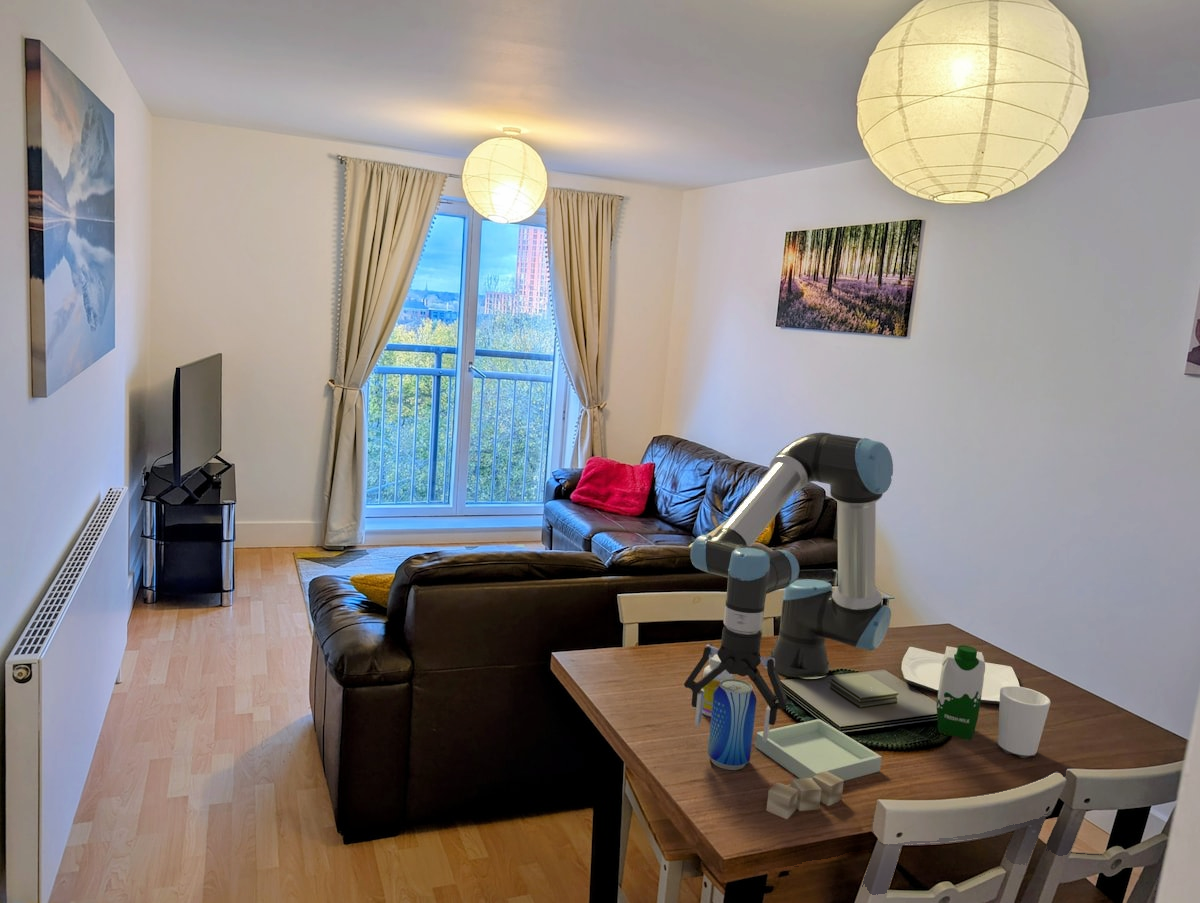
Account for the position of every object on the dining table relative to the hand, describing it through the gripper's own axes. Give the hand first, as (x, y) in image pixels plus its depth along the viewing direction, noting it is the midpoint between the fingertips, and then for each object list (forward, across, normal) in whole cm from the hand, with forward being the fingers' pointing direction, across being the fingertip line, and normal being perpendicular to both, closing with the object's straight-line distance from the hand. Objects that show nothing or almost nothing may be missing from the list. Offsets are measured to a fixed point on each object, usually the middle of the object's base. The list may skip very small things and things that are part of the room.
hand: (731, 730), depth 172 cm
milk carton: (+7, +43, +39) cm, 59 cm away
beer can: (+7, 0, 0) cm, 7 cm away
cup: (+7, +56, +36) cm, 66 cm away
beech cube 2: (+7, +16, -9) cm, 19 cm away
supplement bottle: (+7, -7, +21) cm, 23 cm away
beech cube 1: (+7, +20, -5) cm, 21 cm away
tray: (+6, +16, +10) cm, 20 cm away
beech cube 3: (+7, +12, -13) cm, 19 cm away
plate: (+7, +46, +72) cm, 85 cm away
